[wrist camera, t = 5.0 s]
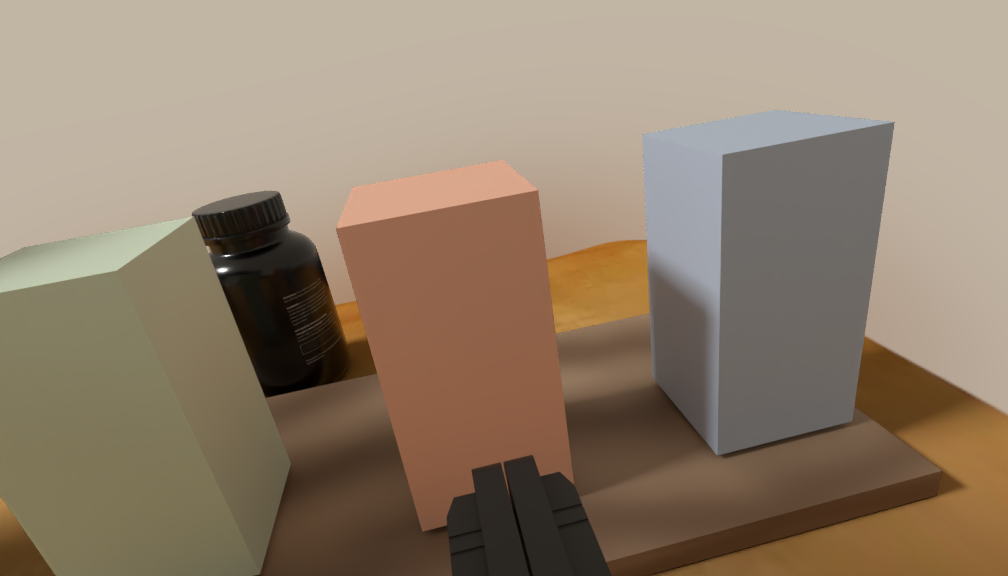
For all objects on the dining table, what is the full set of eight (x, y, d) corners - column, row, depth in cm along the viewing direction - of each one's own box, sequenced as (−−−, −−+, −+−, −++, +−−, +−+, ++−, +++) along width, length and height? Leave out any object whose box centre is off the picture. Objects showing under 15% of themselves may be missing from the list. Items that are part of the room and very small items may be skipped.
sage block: (259, 574, 19) (116, 270, 15) (85, 618, 19) (-125, 316, 14) (290, 463, 25) (193, 216, 20) (156, 494, 24) (23, 247, 19)
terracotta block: (575, 492, 21) (537, 189, 16) (422, 531, 20) (335, 228, 15) (538, 404, 26) (502, 159, 21) (417, 433, 25) (352, 187, 21)
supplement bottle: (338, 339, 39) (289, 179, 35) (365, 378, 34) (311, 194, 29) (239, 375, 36) (171, 206, 32) (251, 424, 31) (171, 228, 26)
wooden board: (936, 495, 20) (942, 470, 19) (21, 748, 16) (1, 726, 16) (709, 316, 34) (709, 299, 34) (199, 431, 31) (191, 414, 31)
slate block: (852, 421, 22) (894, 121, 17) (717, 455, 21) (722, 154, 17) (762, 351, 27) (775, 109, 23) (652, 377, 27) (642, 134, 22)
